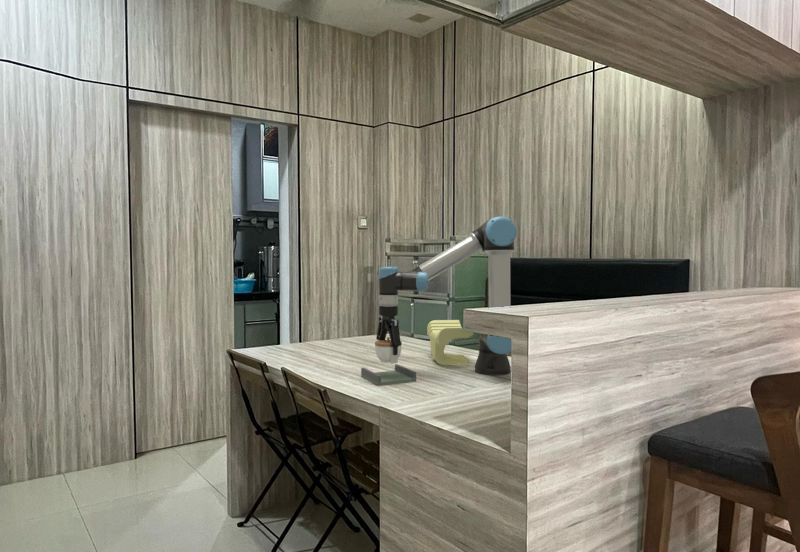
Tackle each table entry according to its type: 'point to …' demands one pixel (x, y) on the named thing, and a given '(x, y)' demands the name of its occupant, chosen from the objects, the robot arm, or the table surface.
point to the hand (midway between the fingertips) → (388, 360)
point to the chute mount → (389, 376)
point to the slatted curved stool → (446, 340)
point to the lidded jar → (385, 350)
